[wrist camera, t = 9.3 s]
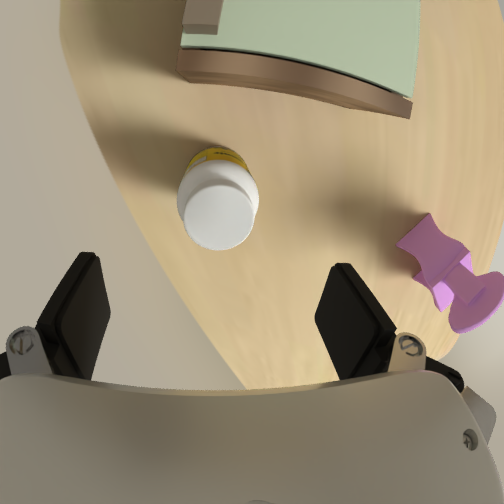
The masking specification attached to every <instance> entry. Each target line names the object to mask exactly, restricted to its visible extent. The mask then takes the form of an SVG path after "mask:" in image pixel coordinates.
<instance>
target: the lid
mask: <svg viewBox="0 0 504 504" xmlns="http://www.w3.org/2000/svg"><path fill="white" fill-rule="evenodd" d="M182 26H183V33H182V39H181V45H180V46H181V47H182V48H205V49H220V50H232V51H241V52H249V53H256V54H263V55H269V56H275V57H280V58H285V59H290V60H295V61H299V62H303V63H308V64H312V65H316V66H319V67H323V68H327V69H330V70H334V71H337V72H340V73H343V74H347V75H350V76H353V77H356V78H358V79H361V80H364V81H367V82H370V83H372V84H375V85H377V86H380V87H382V88H385V89H387V90H390V91H392V92H394V93H397V94H399V95H401V96H404V97H406V98H412V97H413V91H414V84H415V76H416V68H417V59H418V48H419V33H420V0H187V1H186V6H185V10H184V15H183V20H182Z"/></svg>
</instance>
